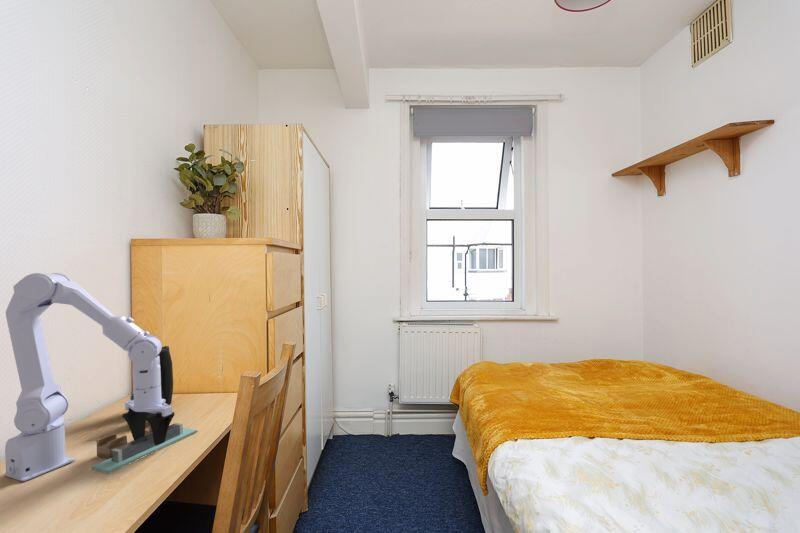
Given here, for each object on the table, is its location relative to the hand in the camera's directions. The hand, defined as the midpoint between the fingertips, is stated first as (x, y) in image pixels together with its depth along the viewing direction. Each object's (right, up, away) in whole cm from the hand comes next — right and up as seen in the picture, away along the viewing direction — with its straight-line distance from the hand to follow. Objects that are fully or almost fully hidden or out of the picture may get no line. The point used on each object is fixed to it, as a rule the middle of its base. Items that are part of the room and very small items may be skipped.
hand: (149, 441), depth 95 cm
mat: (0, -2, 0) cm, 2 cm away
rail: (0, -1, 0) cm, 1 cm away
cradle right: (-4, -2, +7) cm, 8 cm away
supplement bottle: (-12, -3, +17) cm, 21 cm away
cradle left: (-7, -2, -2) cm, 8 cm away
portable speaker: (-16, -3, +29) cm, 33 cm away
